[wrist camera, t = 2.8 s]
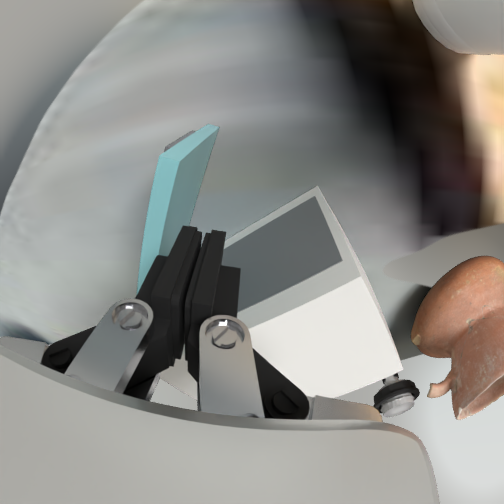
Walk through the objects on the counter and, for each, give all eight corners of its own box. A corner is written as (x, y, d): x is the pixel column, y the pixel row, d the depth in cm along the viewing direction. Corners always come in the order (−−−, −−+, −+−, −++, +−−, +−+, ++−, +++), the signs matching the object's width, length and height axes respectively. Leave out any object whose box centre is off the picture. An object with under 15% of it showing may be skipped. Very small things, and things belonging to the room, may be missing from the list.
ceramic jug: (392, 349, 31) (421, 443, 19) (398, 267, 24) (463, 393, 12) (490, 307, 28) (531, 379, 16) (514, 225, 20) (583, 302, 8)
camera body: (317, 185, 20) (366, 287, 10) (365, 272, 24) (406, 379, 14) (169, 274, 25) (128, 380, 15) (233, 334, 30) (222, 432, 20)
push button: (350, 333, 29) (368, 409, 21) (391, 314, 27) (420, 387, 19) (364, 358, 32) (380, 424, 24) (400, 342, 30) (422, 406, 22)
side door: (201, 121, 17) (147, 152, 9) (219, 127, 17) (179, 161, 9) (163, 271, 24) (126, 356, 16) (176, 275, 24) (144, 362, 16)
